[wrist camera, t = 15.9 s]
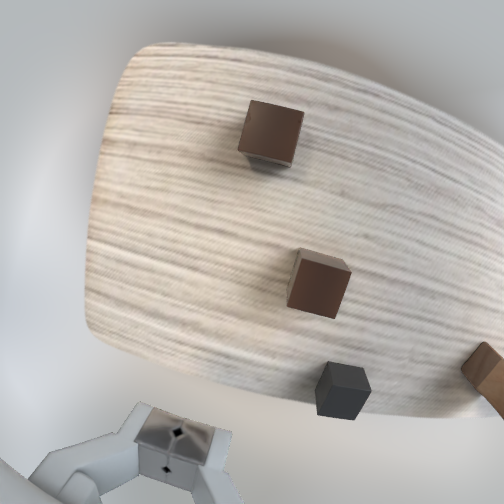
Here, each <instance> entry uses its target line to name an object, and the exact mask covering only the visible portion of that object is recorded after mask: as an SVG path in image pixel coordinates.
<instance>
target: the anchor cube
mask: <svg viewBox="0 0 504 504" xmlns="http://www.w3.org/2000/svg"><path fill="white" fill-rule="evenodd" d="M371 391H372V390H371V388H370V385H369V382H368V379H367V376H366V374H365V371H364V368H360V367H355V366H349V365H344V364H339V363H334V362H329V361H328V363H327V366H326V368H325V370H324V372H323V374H322V377H321V379H320V381H319V383H318V385H317V387H316V389H315V396H316V407H317V415H320V416H326V417H333V418H339V419H347V420H355V418H356V417H357V415H358V414H359V412H360V410H361V409H362V407H363V405H364V404H365V402H366V400H367V398H368V397H369V395H370V393H371Z"/></svg>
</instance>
